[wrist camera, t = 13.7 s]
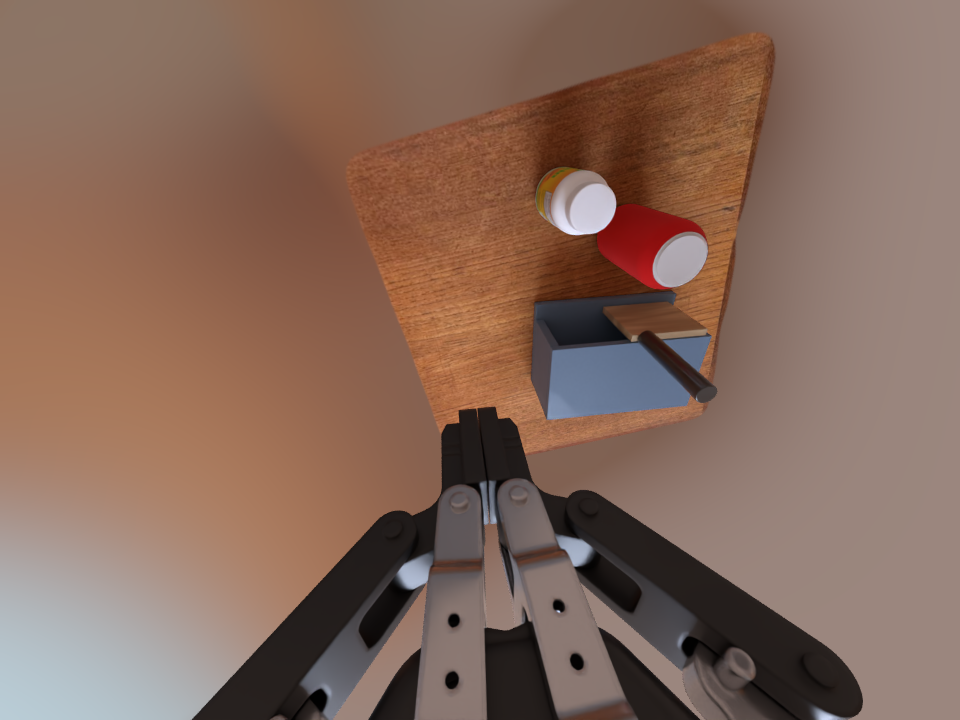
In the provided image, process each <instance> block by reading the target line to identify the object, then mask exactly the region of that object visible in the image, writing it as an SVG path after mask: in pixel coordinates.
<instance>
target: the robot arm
mask: <svg viewBox="0 0 960 720" xmlns="http://www.w3.org/2000/svg"><path fill="white" fill-rule="evenodd" d="M441 440H442V491H441V494H440V497H439V498H438V500H437V501H436V502H435V503H434V504H433V505H432V506H431V507H430V508H428V509H426V510H425V511H422V512H420V513H418V514H415V515H413V516H412V515H410V514H409V513H407V512H405V511H392V512H389V513H387V514H385V515H383V516H382V517H380V518H379V519H378V520H377V521H376V522H375V523H374V524H373V526H372V527H371V528H370V529H369V530H368V531H367V532H366V533H365V534H364V535H363V536H362V538H361V539H360V540H359V541H358V542H357V543H356V544H355V545H354V546H353V547H352V548H351V549H350V550H349V551H348V552H347V554H346V555H345V556H344V557H343V558H342V559H341V560H340V561H339V562H338V563H337V564H336V565H335V566H334V568H333V569H332V570H331V571H330V572H329V573H328V574H327V575H326V576H325V577H324V578H323V580H321V581H320V583H319V584H318V585H317V586H316V587H315V588H314V589H313V590H312V591H311V592H310V593H309V594H308V596H306V598H305V599H304V600H303V601H302V602H301V603H300V604H299V605H298V606H297V607H296V608H295V609H294V610H293V612H292V613H291V614H290V615H289V616H288V617H287V618H286V619H285V620H284V621H283V622H282V623H281V624H280V626H279V627H278V628H277V629H276V630H275V631H274V632H273V633H272V634H271V635H270V636H269V637H268V638H267V640H266V641H265V642H264V643H263V644H262V645H261V646H260V647H259V648H258V649H257V650H256V651H255V652H254V653H253V655H252V656H251V657H250V658H249V659H248V660H247V661H246V662H245V663H244V664H243V665H242V666H241V668H239V670H238V671H237V672H236V673H235V674H234V675H233V676H232V677H231V678H230V679H229V680H228V681H227V683H226V684H225V685H224V686H223V687H222V688H221V689H220V690H219V691H218V692H217V693H216V694H215V696H213V698H212V699H211V700H210V701H209V702H208V703H207V704H206V705H205V706H204V707H203V708H202V709H201V711H200V712H199V713H198V714H197V715H196V716H195V717H194V718H193V719H192V720H332V719H333V718H334V717H335V715H336V714H337V712H338V711H339V709H340V708H341V706H342V705H343V704H344V702H345V701H346V699H347V698H348V696H349V695H350V694H351V692H352V691H353V689H354V688H355V686H356V685H357V683H358V682H359V680H360V679H361V678H362V676H363V675H364V673H365V672H366V670H367V669H368V667H369V666H370V665H371V663H372V662H373V660H374V659H375V657H376V656H377V655H378V653H379V652H380V650H381V649H382V647H383V646H384V644H385V643H386V642H387V640H388V639H389V637H390V636H391V634H392V633H393V631H394V630H395V629H396V627H397V626H398V624H399V623H400V621H401V620H402V618H403V617H404V616H405V614H406V613H407V611H408V610H409V608H410V607H411V605H412V604H413V603H414V601H415V600H416V598H417V597H418V595H419V594H420V592H421V591H422V589H423V588H424V586H425V584H426V583H427V582H428V583H427V593H426V604H425V614H424V625H423V635H422V645H421V648H420V649H419V650H417V651H416V652H415V653H414V654H413V655H412V656H410V658H409V659H408V660H407V661H406V662H405V663H404V664H403V665H402V666H401V668H400V669H399V670H398V672H397V673H396V674H395V676H394V678H393V679H392V681H391V682H390V684H389V686H388V687H387V689H386V691H385V693H384V694H383V696H382V698H381V699H380V701H379V702H378V704H377V706H376V708H375V709H374V711H373V713H372V714H371V716H370V718H369V720H700V719H699V718H698V717H697V716H696V715H695V714H694V713H693V712H692V711H691V710H690V709H689V708H688V707H687V706H686V705H685V704H684V703H683V702H682V701H680V699H679V698H678V697H677V696H676V695H675V694H673V693H672V692H671V691H670V690H669V689H668V688H667V687H666V686H665V685H664V684H663V683H662V682H661V681H660V680H659V679H658V678H657V677H656V676H655V675H654V674H653V673H652V672H651V671H650V670H649V669H648V668H647V667H646V666H645V665H644V664H643V663H642V662H641V661H640V660H638V658H637V657H636V656H634V654H633V653H632V652H631V651H630V650H628V649H627V648H626V647H625V646H624V645H623V644H622V643H621V642H620V641H619V640H617V639H616V638H615V637H614V636H612V635H611V634H609V633H608V632H606V631H605V630H603V629H601V628H599V627H597V624H596V622H595V619H594V617H593V614H592V612H591V609H590V607H589V604H588V602H587V599H586V596H585V594H584V591H583V589H582V586H581V584H580V582H581V583H582V584H583V585H584V586H585V587H586V588H587V589H589V590H590V591H591V592H592V593H593V594H594V595H595V596H597V597H598V598H599V599H600V600H601V601H602V602H603V603H605V604H606V605H607V606H608V607H609V608H610V609H611V610H613V611H614V612H615V613H616V614H617V615H618V616H619V617H620V618H622V619H623V620H624V621H625V622H626V623H627V624H628V625H630V626H631V627H632V628H633V629H634V630H636V632H638V633H639V634H640V635H641V636H642V637H643V638H644V639H646V640H647V641H648V642H649V643H650V644H651V645H652V646H654V647H655V648H656V649H657V650H658V651H659V652H660V653H662V654H663V655H664V656H665V657H666V658H667V659H669V660H670V661H671V662H672V663H673V664H674V665H675V666H676V667H678V668H679V669H680V670H681V671H682V677H683V683H684V687H685V690H686V693H687V695H688V697H689V699H690V700H691V702H692V704H693V705H694V707H695V708H696V709H697V711H699V713H700V714H701V715H702V716H703V717H704V718H705V719H706V720H848V719H850V718H852V717H854V716H856V715H857V714H858V713H859V712H860V711H861V709H862V705H863V698H862V693H861V690H860V687H859V685H858V683H857V681H856V679H855V677H854V675H853V674H852V672H851V671H850V670H849V668H848V667H847V666H846V665H845V663H844V662H843V661H842V660H841V659H840V658H839V657H838V656H837V655H836V654H835V653H834V652H833V651H832V650H830V649H829V648H828V647H827V646H825V645H824V644H822V643H821V642H819V641H818V640H816V639H815V638H813V637H812V636H810V635H809V634H807V633H806V632H804V631H803V630H801V629H800V628H798V627H797V626H795V625H794V624H792V623H791V622H789V621H788V620H786V619H785V618H783V617H782V616H780V615H779V614H777V613H776V612H774V611H773V610H771V609H770V608H768V607H767V606H765V605H764V604H762V603H761V602H759V601H758V600H756V599H755V598H753V597H752V596H750V595H749V594H747V593H746V592H744V591H743V590H741V589H740V588H738V587H737V586H735V585H734V584H732V583H731V582H729V581H728V580H726V579H725V578H723V577H722V576H720V575H719V574H717V573H716V572H714V571H713V570H711V569H710V568H708V567H707V566H705V565H704V564H702V563H701V562H699V561H698V560H696V559H695V558H694V557H692V556H691V555H689V554H688V553H686V552H684V551H683V550H681V549H680V548H679V547H677V546H676V545H674V544H672V543H671V542H669V541H668V540H667V539H665V538H664V537H662V536H661V535H659V534H658V533H656V532H655V531H653V530H652V529H650V528H649V527H647V526H646V525H644V524H642V523H641V522H640V521H638V520H637V519H635V518H633V517H632V516H631V515H629V514H628V513H626V512H624V511H623V510H622V509H620V508H618V507H617V506H616V505H614V504H612V503H611V502H609V501H608V500H606V499H605V498H603V497H602V496H600V495H599V494H597V493H595V492H592V491H589V490H579V491H575V492H573V493H572V494H571V495H570V496H569V497H568V498H565V497H560V496H554V495H550V494H548V493H545V492H543V491H542V490H540V489H539V488H538V487H537V486H536V485H535V484H534V482H533V481H532V478H531V475H530V472H529V468H528V464H527V461H526V457H525V453H524V450H523V447H522V443H521V439H520V435H519V432H518V428H517V426H516V425H515V424H514V422H513V421H512V420H511V419H510V418H504V419H498V416H497V412H496V408H495V407H485V408H478V418H477V411H476V409H465V410H459V423H455V424H447V425H446V426H445V428H444V430H443V432H442V434H441ZM487 502H488V503H487ZM488 510H489V517H490V523H491V524H492V523H497V529H498V536H499V548H500V553H501V557H502V562H503V566H504V571H505V575H506V579H507V584H508V588H509V593H510V597H511V602H512V607H513V615H514V621H515V628H513V629H511V630H507V631H503V630H498V629H492V628H487V618H486V593H485V564H484V546H485V528H484V525H485V524H489V523H488Z"/></svg>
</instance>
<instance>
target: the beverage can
mask: <svg viewBox="0 0 960 720" xmlns="http://www.w3.org/2000/svg"><path fill="white" fill-rule="evenodd" d="M597 244H598V248H599V251H600V252H601V254H602V255H603V256H604V257H605V258H606V259H608V260H609V261H611V262H612V263H614V264H615V265H617V266H618V267H620V268H621V269H623V270H624V271H626V272H627V273H628V274H630V275H631V276H633V277H634V278H636V279H637V280H639V281H640V282H642V283H643V284H645V285H646V286H648V287H651V288H654V289H670V288H675V287H678V286H681V285H684V284H686V283H687V282H689V281H690V280H692V279H693V278H694V277H695V276H696V275H697V274H698V273H699V272H700V271H701V269H702V268H703V266H704V264H705V262H706V259H707V256H708V244H707V239H706V236H705V233H704V232H703V230H702V229H701V228H700V227H699V226H698V225H697V224H696V223H694V222H692V221H690V220H687V219H684V218H680V217H677V216H674V215H670V214H667V213H664V212H660V211H657V210H654V209H650V208H647V207H644V206H640V205H637V204H625V205H622V206H619V207H617V208H616V210H615V213H614V216H613V218H612V220H611V221H610V223H609V224H608V225H607V226H606V227H605V228H604V229H602V230H601V231H599V232H598V235H597Z"/></svg>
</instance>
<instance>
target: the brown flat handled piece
mask: <svg viewBox="0 0 960 720" xmlns="http://www.w3.org/2000/svg"><path fill="white" fill-rule="evenodd" d="M603 313H604V314H605V315H606V316H607V318H608V319H609V320H610V321H611V322H612V323H613V324H614V325H615V326H616V327H617V328H618V329H619V330H620V331H621V332H622V333H623V334H624V335H625V336H626V337H627V338H628V339H629V340H630V341H631V342H634V341H638V343H639V344H640V345H641V346H642V347H643V348H644V349H645V350H646V351H647V352H648V353H649V354H650V355H651V356H652V357H653V358H654V359H655V360H656V361H657V362H658V363H659V364H660V365H661V366H662V367H663V368H664V369H665V370H666V371H667V372H668V373H669V374H670V375H671V376H672V377H673V378H674V379H675V380H676V381H677V382H678V383H679V384H680V385H681V386H682V387H683V388H684V389H685V390H686V391H687V392H688V393H689V394H690V395H691V396H692V397H693V398H694V399H695V400H696V401H697V402H699V403H705V402H708V401H710V400H712V399H713V398H714V397H715V396H716V394H717V388H716V387H715V386H714V385H713V384H712V383H711V382H709V381H708V380H707V379H706V378H705V377H704V376H703V375H701V374H700V373H699V372H698V371H697V370H696V369H695V368H693V367H692V366H691V365H690V364H689V363H688V362H687V361H685V360H684V359H683V358H682V357H681V356H680V355H679V354H677V353H676V352H675V351H674V350H673V349H672V348H670V347H669V346H668V345H667V344H666V343H665V342H664V341H662V340H661V339H668V338H679V337H690V336H701V335H706V332H707V328H706V327H704V326H703V325H701V324H700V323H698V322H697V321H695V320H694V319H692V318H691V317H690V316H688V315H687V314H685V313H684V312H682V311H681V310H679V309H678V308H676V307H675V306H673V305H672V304H671V303H669V302H656V303H644V304H632V305H619V306H607V307H603Z"/></svg>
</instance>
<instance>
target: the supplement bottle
mask: <svg viewBox="0 0 960 720" xmlns="http://www.w3.org/2000/svg"><path fill="white" fill-rule="evenodd" d="M535 201H536V206H537V209H538V211H539V213H540V214H541V215H542V217H543V218H545V219H546V220H547V221H549V222H550V223H552V224H553V225H554V226H556V227H557V228H559V229H560V230H562V231H563V232H565V233H567V234H571V235H582V234H593V233H597V232H599V231H601V230H602V229H604V228H605V227H606V226H607V225H608V224H609V223H610V221H611V220H612V218H613V216H614V213H615V210H616V198H615V195H614V193H613V191H612V190H611V188H610V187H608V185H607V183H606V181H605V180H604V179H603V178H602V177H601V176H600V175H599V174H597V173H595V172H592V171H588V170H581V169H576V168H570V167H558V168H555V169H553V170H551V171H549V172H548V173H547V174H546V175H545V176H544V177H543V178H542V179H541V181H540V182H539V184H538V187H537V190H536V196H535Z"/></svg>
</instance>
